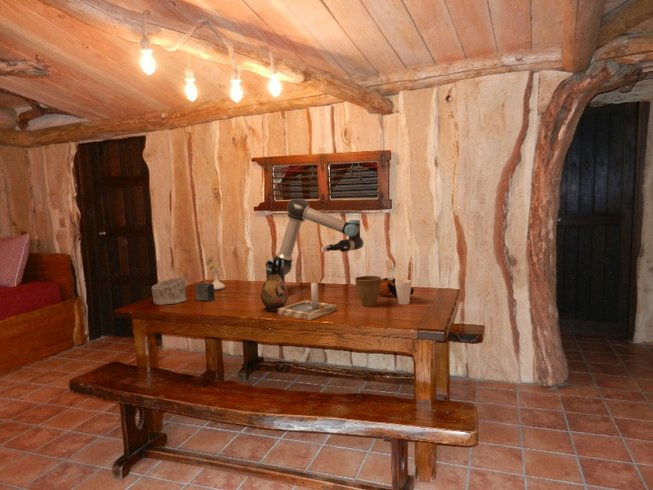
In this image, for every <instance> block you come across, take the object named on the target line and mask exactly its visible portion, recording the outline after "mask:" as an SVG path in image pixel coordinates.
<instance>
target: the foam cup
mask: <svg viewBox="0 0 653 490" xmlns="http://www.w3.org/2000/svg"><path fill="white" fill-rule="evenodd" d="M395 280H396V281H395V286H396V292H397V298H396V299H397V302H398V305H409V304H410V302H411V301H410V300H411V295H410V292H411V288H412V285H413V284H412V280H411V279H395Z"/></svg>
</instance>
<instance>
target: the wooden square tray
mask: <svg viewBox="0 0 653 490" xmlns="http://www.w3.org/2000/svg"><path fill="white" fill-rule="evenodd" d="M305 304H312V300H306V299H305V300H301V301H298V302H295V303H292V304H289V305H284V306H283V307H282V308H279V309H277V310H278V311H277V315H278V316H284V315H285V317H291V318H295V319H296V318H297V319H301V320H307V321H312V320H314V319H316V318H319V317H322V316H325V315H328V314H330V313H332V312H335V311H337V304H331V303H326V302H319V301H318V305H319V309H318V310H316V311H313V312H310V313H307V312H301V311H296V310H293V307H295V306H298V305H305Z"/></svg>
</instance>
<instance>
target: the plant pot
mask: <svg viewBox="0 0 653 490" xmlns="http://www.w3.org/2000/svg"><path fill="white" fill-rule="evenodd" d="M381 279H382V277H380V276H379V275H364V276H357V277H355V278H354V281H355V286H356V291H357V294H358V297H359V299H360V300H359V301H360V303H361V305H362V306H363V307H366V308H369V307H375V306H376V305H377V302H378V298H379V290H380V284H381Z"/></svg>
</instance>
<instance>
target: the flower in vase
mask: <svg viewBox="0 0 653 490" xmlns="http://www.w3.org/2000/svg"><path fill="white" fill-rule="evenodd" d="M213 259H214V256H213V255H209V256H208V258H207V260H206V261H205V265H207V266H209V265H210V264H212V266H210V268H209V270H211V271H212V272H213V275H214V280H213V282H212V283H211V284H214V291H218V290H223V289H225V287H226V286H225V284H224V283H222V282H221V281H220V280H219V271H220V269H218V267H219V266H218V264H216V265H214V264H213Z"/></svg>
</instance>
